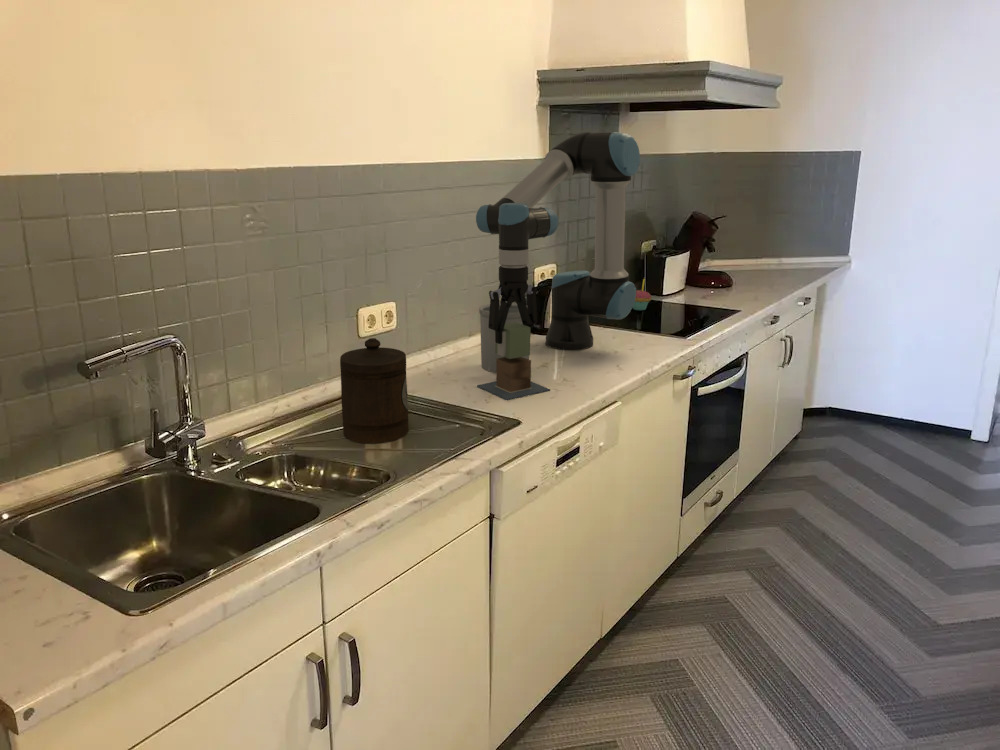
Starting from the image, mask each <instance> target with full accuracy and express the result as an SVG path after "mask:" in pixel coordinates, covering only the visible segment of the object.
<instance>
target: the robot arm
mask: <svg viewBox="0 0 1000 750" xmlns="http://www.w3.org/2000/svg"><path fill="white" fill-rule="evenodd" d="M640 161H641V154H640V149H639V145H638V142H637V140H636V139H635V137H633V135H631V134H630V133H627V132H619V131H614V132H612V131H611V132H608V131H607V132H587V131H586V132H585V131H584V132H581V133H577V134H573V135H572V136H570V137H568V138H566V139H564V140H562V141H560V143H558V144H556V145H555V146H553V148H551V150H549V151H548V152H547V153H546V154H545V157H544V160H543V161H542V162H541V163H540V164H539V165H537V166H536V167H535V168H533V170H532V171H531V172H530V173H528V174H527V175H526V176H524V178H523V179H521V180H520V181H519V182H518V183H517V184H516V185H515V186H513V188H512V189H510V190H509V191H508V192H507V193H506V194H505V195H504V196H502V197H501V198H500V199H499V200H498V201H497V202H496V203H495V204H484V205H481V206H480V207H479V208H478V210H477V211H476V215H475V223H476V225H477V228H478V230H479V231H481V232H483V233H487V234H490V235H498V264H499V267H498V280H499V284H498V285H499V286H498V288H497V289H496V290H489V291H488V295H489V300H490V301H489V304H490V311H489V325H488V327H489V329H492V330H495V342H496V343H498V355H501V356H503V357H504V356H506V332H505V331H503V329H504V326H505V322H506V318H507V315H508V311H509V308H510V306H511V305H512V303H516V304H517V306H518V309H519V313H520V316H521V320H522V323H523V325H525V326H528V327H530V338H531V335H532V334H531V329H532V328H533V327H534V324H535V325H537V323H538V310H537V309H538V308H537V291H538V287H537V286H533V285H529V284H528V282H527V281H528V280H529V266H527V265H529V240H533V239H534V240H535V239H539V238H540V239H541V238H546V237H549V236H551V235H553V234H554V233H555V232H556V231H557V230H558V226H559V217H558V215H557V213H556V212H555V210H553V209H552V208H550V207H541V206H540V207H537V208H534V207H535V206H536V205H537V204H538V203H539V202H541V200H542V199H544V198H545V196H547V194H548V193H550V192H551V191H552V190H553V189H554V188H555V187H556V186H558V184H560V183H561V182H562V181H567V180H569V179H570V178H571V177H573V176H575V175H579V174H587V175H590V183H591V184H592V185H593V186H594V187H595V211H594V212H595V216H594V218H595V219H594V220H595V223H594V226H595V227H594V228H595V229H594V233H595V234H594V269H593V270H592V271H591V272H590V271H588V270H574V271H573V270H572V271H571V270H570V271H564V272H559V273H555V275H554V276H553V277H552V282H551V287H550V288H551V319H550V320H551V321H550V323H549V327H548V329H547V330H548V331H547V333H546V336H545V345H546V346H547V347H549V348H553V349H556V350H565V351H567V350H568V351H574V350H577V351H578V350H585V349H590V348H591V347H593V345H594V335H593V333H592V328H591V325H590V322H589V316H591V317H598V318H604V319H607V320H623V319H625V318H626V317H627V316H628V315H629V314H630V313H631V310H632V309H633V305H634V302H635V298H636V291H637V288H636V286H635V284H634V283H633V282H631V281H629V279H630V278H629V273H628V272H627V270H625V231H626V230H625V229H626V228H625V224H626V222H625V220H626V190H627V189H626V187H627V186H628V185H629V183H631V182H632V176H634V175H635V174H636V173H637V172H638V170H639V166H640V163H641V162H640ZM525 295H526V296H525ZM499 303H500V304H501V305H500V309H499ZM526 305H527V306H526Z"/></svg>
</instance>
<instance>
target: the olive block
mask: <svg viewBox="0 0 1000 750" xmlns="http://www.w3.org/2000/svg"><path fill="white" fill-rule="evenodd" d="M503 331H505V332H506V356H504V357H506V358H509V359H512V358H517V357H523V356H528V355H529V356H530V355H531V337H530V335H531V334H530V327H528V326H525V325H522V324H519V323H516V322H515V323H508V324H505V326H504V329H503ZM495 353H496V354H498V343H496V342H495Z"/></svg>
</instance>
